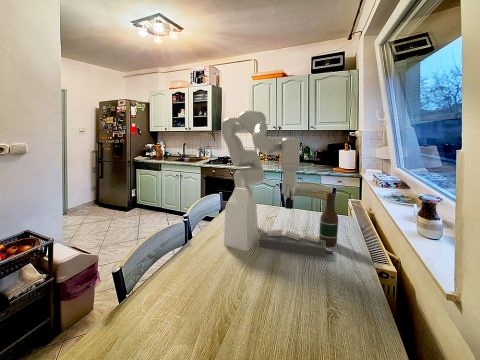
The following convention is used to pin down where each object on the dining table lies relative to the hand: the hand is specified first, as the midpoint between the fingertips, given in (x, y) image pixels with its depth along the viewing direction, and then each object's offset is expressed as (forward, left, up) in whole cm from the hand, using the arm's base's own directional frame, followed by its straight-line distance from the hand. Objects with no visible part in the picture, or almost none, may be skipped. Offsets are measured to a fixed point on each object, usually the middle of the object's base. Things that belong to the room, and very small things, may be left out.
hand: (289, 208), depth 111 cm
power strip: (+3, -2, -18) cm, 18 cm away
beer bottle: (+17, +8, -18) cm, 26 cm away
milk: (-21, -4, -18) cm, 28 cm away
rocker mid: (+2, 0, -13) cm, 13 cm away
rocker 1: (-6, 0, -13) cm, 14 cm away
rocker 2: (+10, 0, -13) cm, 16 cm away
